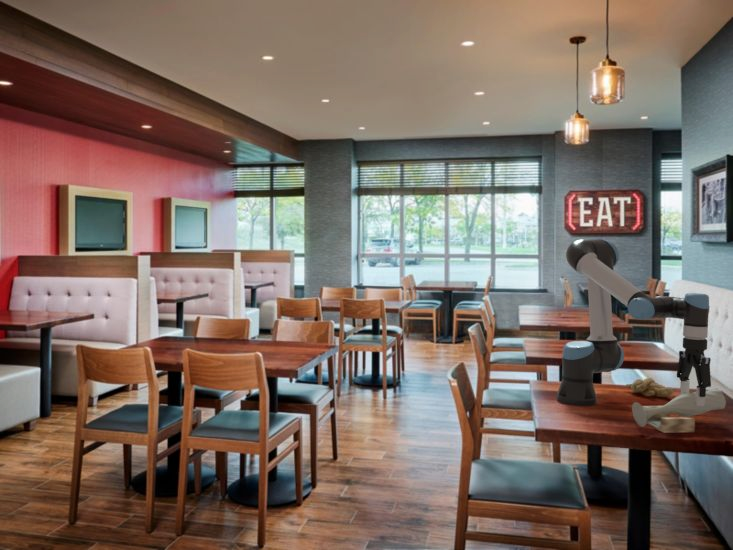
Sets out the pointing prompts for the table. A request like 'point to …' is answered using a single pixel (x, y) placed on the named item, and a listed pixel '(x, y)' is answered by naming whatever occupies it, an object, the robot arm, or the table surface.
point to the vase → (681, 406)
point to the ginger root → (650, 388)
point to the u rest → (671, 422)
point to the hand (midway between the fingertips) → (692, 402)
